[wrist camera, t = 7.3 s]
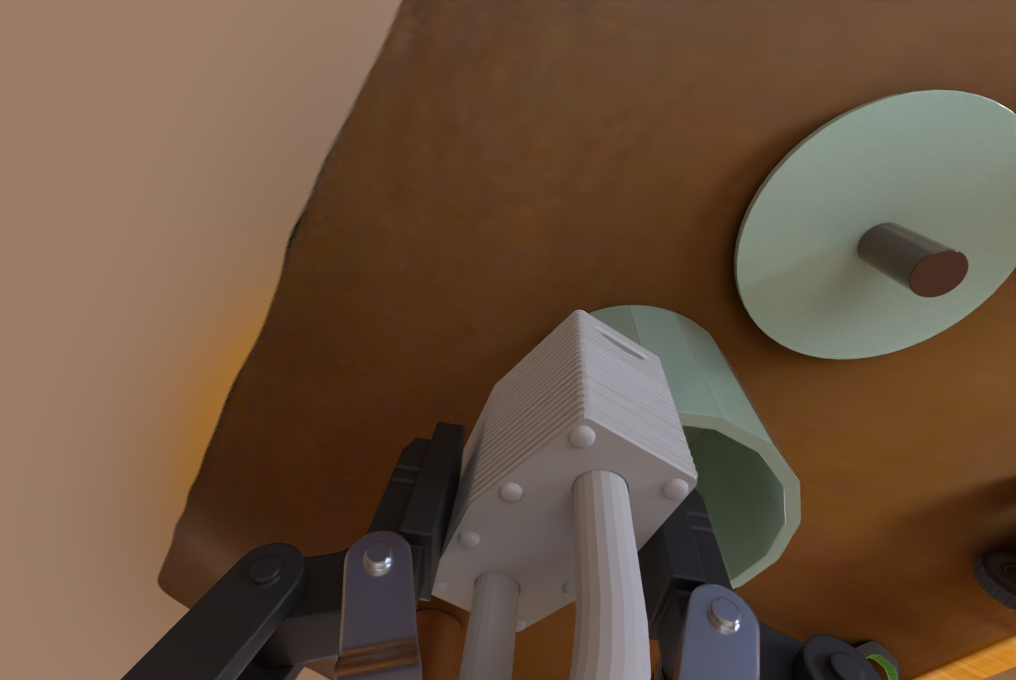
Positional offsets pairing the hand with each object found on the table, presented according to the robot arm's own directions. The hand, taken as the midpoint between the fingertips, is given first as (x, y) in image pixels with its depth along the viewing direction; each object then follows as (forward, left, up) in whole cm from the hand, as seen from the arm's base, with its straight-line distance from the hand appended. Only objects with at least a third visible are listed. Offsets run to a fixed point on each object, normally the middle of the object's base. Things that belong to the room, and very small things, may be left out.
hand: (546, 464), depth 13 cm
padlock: (0, 0, -3) cm, 3 cm away
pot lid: (-2, +19, -20) cm, 28 cm away
